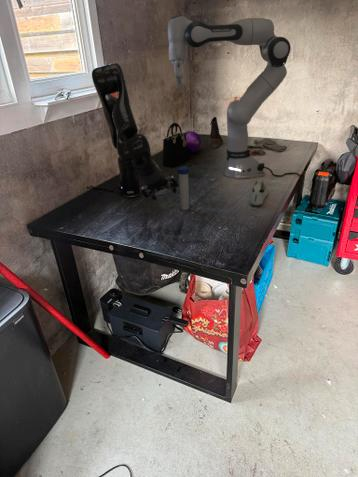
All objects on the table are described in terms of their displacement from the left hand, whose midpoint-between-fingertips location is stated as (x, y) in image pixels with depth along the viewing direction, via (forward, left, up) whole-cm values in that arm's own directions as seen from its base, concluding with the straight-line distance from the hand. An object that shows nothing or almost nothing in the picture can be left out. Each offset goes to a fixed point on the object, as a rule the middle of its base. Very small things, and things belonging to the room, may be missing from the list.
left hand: (165, 195), depth 135 cm
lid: (-2, +16, +6) cm, 18 cm away
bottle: (-2, +16, -13) cm, 21 cm away
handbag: (-48, +71, -13) cm, 87 cm away
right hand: (-28, +52, +35) cm, 68 cm away
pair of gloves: (-12, +122, -13) cm, 123 cm away
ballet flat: (+22, +44, -13) cm, 51 cm away
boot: (-47, +122, -13) cm, 131 cm away
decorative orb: (-52, +94, -13) cm, 108 cm away
